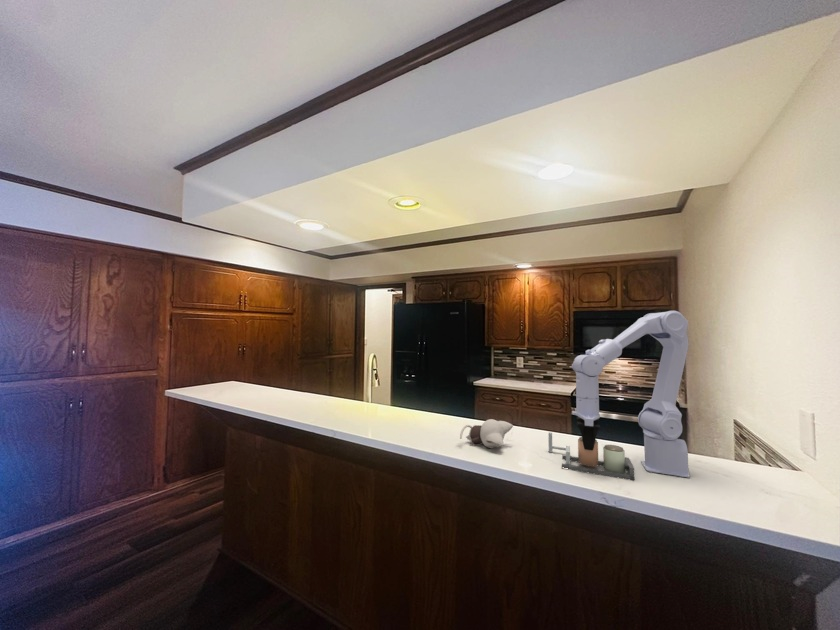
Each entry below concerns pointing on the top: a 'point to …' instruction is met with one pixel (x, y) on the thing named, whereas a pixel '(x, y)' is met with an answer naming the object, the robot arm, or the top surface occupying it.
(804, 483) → the top surface
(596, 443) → the jar
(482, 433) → the toy
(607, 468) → the jar
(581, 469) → the lane
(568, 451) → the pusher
